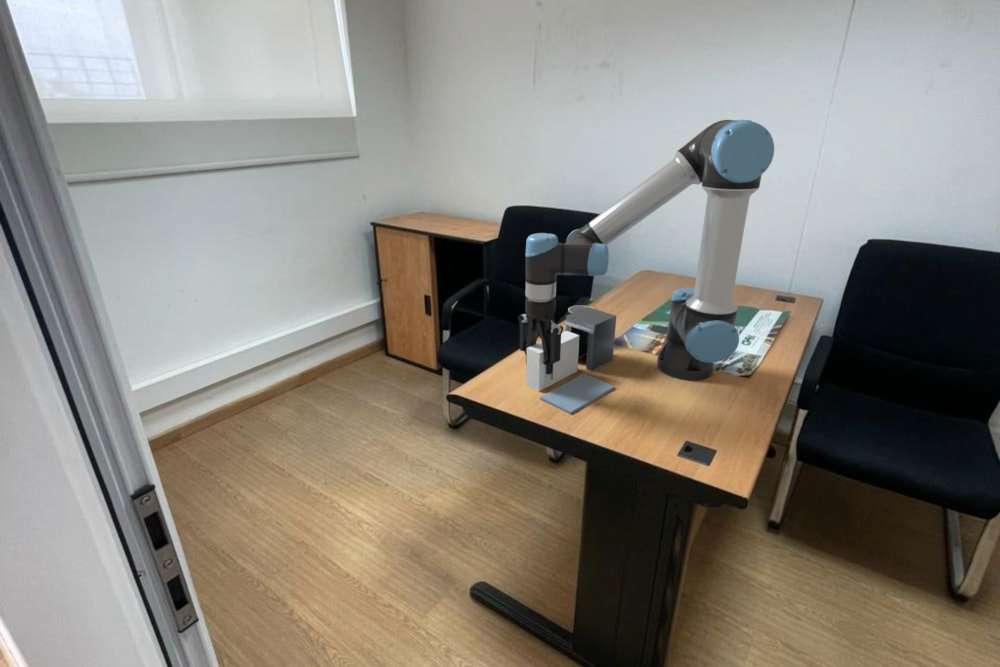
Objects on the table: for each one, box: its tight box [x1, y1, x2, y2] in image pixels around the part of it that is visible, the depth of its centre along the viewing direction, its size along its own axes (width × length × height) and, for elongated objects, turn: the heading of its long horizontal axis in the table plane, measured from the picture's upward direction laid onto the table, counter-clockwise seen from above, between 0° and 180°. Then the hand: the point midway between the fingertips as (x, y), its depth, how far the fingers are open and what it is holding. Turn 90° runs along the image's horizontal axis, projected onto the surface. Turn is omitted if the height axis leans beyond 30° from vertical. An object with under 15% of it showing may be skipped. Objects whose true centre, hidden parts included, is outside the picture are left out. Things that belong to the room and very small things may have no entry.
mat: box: [539, 373, 615, 415], centre depth 130 cm, size 10×18×1 cm, turn 133°
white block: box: [525, 330, 579, 392], centre depth 136 cm, size 4×16×11 cm, turn 133°
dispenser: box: [564, 307, 617, 372], centre depth 145 cm, size 10×10×14 cm
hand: (538, 380), depth 134 cm, fingers closed on white block, 4 cm apart
